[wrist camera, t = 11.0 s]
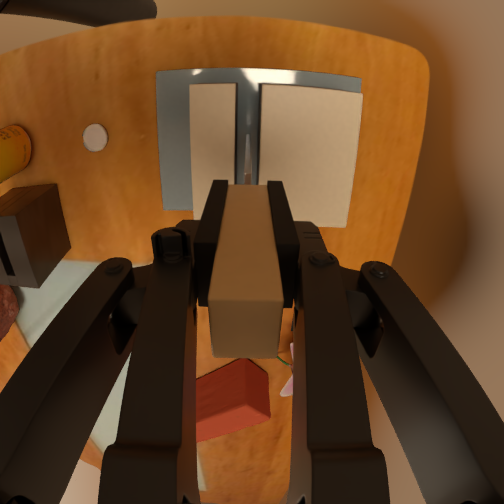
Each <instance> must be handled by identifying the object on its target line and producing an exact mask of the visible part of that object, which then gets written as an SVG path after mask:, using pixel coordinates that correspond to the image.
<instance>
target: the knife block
mask: <svg viewBox="0 0 504 504" xmlns="http://www.w3.org/2000/svg"><path fill="white" fill-rule="evenodd" d="M70 248H71V245H70V241H69V237H68V234H67V230H66V225H65V221H64V217H63V212H62V208H61V203H60V198H59V193H58V188H57V184H47V185H38V186H29V187H20V188H13V189H11V190H10V191H8V192H7V193H5V194H4V195H2V196H1V197H0V284H1V285H10V286H20V287H29V288H40V287H41V285H42V284H43V283H44V281H45V280H46V279H47V277H48V276H49V275H50V273H51V272H52V271H53V270H54V268H55V267H56V266H57V264H58V263H59V262H60V261H61V259H62V258H63V257H64V256H65V254H66V253H67V252H68V251H69V250H70Z"/></svg>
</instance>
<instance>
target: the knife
mask: <svg viewBox="0 0 504 504" xmlns="http://www.w3.org/2000/svg"><path fill="white" fill-rule="evenodd" d="M251 180H252V164H251V134H247V135H246V150H245V167H244V185H237V184H229V185H228V188H227V193H226V199H225V204H224V209H223V215H222V220H221V226H220V232H219V237H218V243H217V249H216V252H215V258H214V264H213V270H212V276H211V282H210V288H209V294H208V311H209V323H210V335H211V346H212V355H213V357H216V358H277V355H278V347H279V339H280V331H281V323H282V314H283V305H284V297H283V289H282V282H281V275H280V268H279V261H278V253H277V249H276V242H275V235H274V228H273V221H272V214H271V207H270V201H269V194H268V187H267V185H251Z"/></svg>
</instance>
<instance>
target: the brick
mask: <svg viewBox="0 0 504 504" xmlns="http://www.w3.org/2000/svg"><path fill="white" fill-rule="evenodd" d="M270 418H271V413H270V401H269V381H268V374H267V373H266V372H264V371H263V370H262V369H260V368H259V367H258V366H256V365H255V364H253V363H252V362H251V361H249V360H248V359H247V358H240V359H238V360H236V361H234V362H233V363H231V364H229V365H226V366H224V367H222V368H220V369H218V370H216V371H214V372H212V373H210V374H208V375H205V376H204V377H202V378H199V379H197V380H196V443H197V442H201V441H205V440H208V439H211V438H216V437H219V436H221V435H225V434H229V433H232V432H235V431H238V430H241V429H243V428H245V427H250V426H253V425H256V424H260V423H262V422H265V421H267V420H269V419H270Z"/></svg>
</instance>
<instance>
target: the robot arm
mask: <svg viewBox="0 0 504 504" xmlns="http://www.w3.org/2000/svg"><path fill="white" fill-rule="evenodd" d="M267 187H268V194H269V201H270V207H271V214H272V221H273V228H274V235H275V242H276V249H277V253H278V261H279V268H280V275H281V282H282V289H283V297H284V305H283V308H292V306H293V298H294V303H295V307H294V314H293V321H292V327H291V331H293V403H292V439H291V465H290V484H289V490H288V496H287V503H286V504H390V497H389V486H388V476H387V467H386V462H385V457H384V454H383V453H382V451H381V450H380V449H378V448H376V447H374V445H373V442H372V437H371V429H370V422H369V415H368V408H367V401H366V395H365V389H364V383H363V377H362V370H361V365H360V359H359V356H360V358H361V360H362V362H363V364H364V366H365V368H366V370H367V372H368V374H369V376H370V378H371V380H372V383H373V385H374V387H375V388H376V391H377V393H378V395H379V397H380V400H381V402H382V404H383V406H384V408H385V410H386V412H387V415H388V417H389V419H390V421H391V423H392V425H393V427H394V430H395V432H396V434H397V437H398V439H399V441H400V443H401V445H402V447H403V450H404V452H405V455H406V457H407V459H408V461H409V464H410V466H411V469H412V471H413V473H414V476H415V478H416V480H417V483H418V485H419V488H420V490H421V493H422V495H423V497H424V499H425V501H426V503H427V504H504V423H503V421H502V419H501V418H500V416H499V414H498V413H497V411H496V409H495V408H494V406H493V405H492V403H491V401H490V400H489V398H488V397H487V395H486V393H485V392H484V390H483V389H482V387H481V385H480V384H479V382H478V381H477V380H476V378H475V376H474V375H473V373H472V372H471V370H470V369H469V367H468V366H467V365H466V363H465V362H464V360H463V359H462V357H461V356H460V355H459V353H458V352H457V350H456V349H455V347H454V346H453V345H452V343H451V342H450V340H449V339H448V338H447V336H446V335H445V334H444V332H443V331H442V330H441V328H440V327H439V325H438V324H437V323H436V321H435V320H434V319H433V317H432V316H431V315H430V314H429V312H428V311H427V310H426V309H425V307H424V306H423V304H422V303H421V302H420V301H419V299H418V298H417V297H416V296H415V294H414V293H413V292H412V291H411V289H410V288H409V287H408V286H407V285H406V283H405V282H404V281H403V279H402V278H401V277H400V276H399V275H398V273H397V272H396V271H395V270H394V269H393V268H392V267H391V266H389V265H387V264H385V263H383V262H379V261H369V262H365V263H364V264H362V266H361V270H360V271H357V270H352V269H348V268H344V267H342V266H340V265H339V261H338V259H337V258H336V257H335V256H334V255H333V254H331V253H328V251H327V249H326V246H325V244H324V241H323V239H322V236H321V234H320V231H319V229H318V227H317V226H316V225H315V224H314V223H312V222H311V221H294V220H293V217H292V213H291V210H290V206H289V203H288V199H287V196H286V192H285V189H284V186H283V182H282V181H271V180H267ZM227 188H228V180H213V182H212V185H211V188H210V191H209V194H208V197H207V200H206V203H205V207H204V210H203V213H202V216H201V219H200V220H182V221H181V222H179V223H178V224H177V225H176V227H169V228H164V229H161V230H158V231H156V232H155V233H153V235H152V236H151V240H152V247H153V254H154V260H153V263H152V264H150V265H146V266H141V267H135V268H132V263H131V261H130V260H128V259H126V258H122V257H119V258H117V257H115V258H110V259H108V260H106V261H103V262H102V263H101V264H99V265H98V266H97V267H96V269H95V270H94V271H93V272H92V273H91V274H90V275H89V277H88V278H87V279H86V280H85V281H84V282H83V284H82V285H81V286H80V287H79V288H78V290H77V291H76V292H75V293H74V294H73V296H72V297H71V298H70V299H69V300H68V302H67V303H66V304H65V305H64V307H63V308H62V309H61V310H60V312H59V313H58V314H57V315H56V317H55V318H54V319H53V320H52V322H51V323H50V324H49V326H48V327H47V328H46V330H45V331H44V332H43V333H42V335H41V336H40V337H39V339H38V340H37V341H36V343H35V344H34V345H33V347H32V348H31V350H30V351H29V352H28V354H27V355H26V357H25V358H24V359H23V361H22V362H21V364H20V365H19V366H18V368H17V369H16V371H15V372H14V374H13V375H12V377H11V378H10V380H9V381H8V383H7V384H6V386H5V387H4V389H3V390H2V392H1V393H0V504H59V503H60V501H61V499H62V497H63V495H64V493H65V490H66V488H67V486H68V483H69V481H70V479H71V476H72V474H73V472H74V469H75V467H76V465H77V462H78V460H79V458H80V456H81V453H82V451H83V449H84V447H85V445H86V442H87V440H88V438H89V436H90V434H91V432H92V429H93V427H94V425H95V423H96V421H97V419H98V417H99V415H100V413H101V411H102V408H103V406H104V404H105V402H106V400H107V398H108V396H109V394H110V392H111V390H112V388H113V386H114V384H115V382H116V380H117V378H118V376H119V374H120V372H121V370H122V368H123V366H124V364H125V362H126V360H127V359H128V357H129V355H130V353H131V356H130V361H129V366H128V371H127V377H126V382H125V388H124V393H123V399H122V405H121V411H120V418H119V424H118V431H117V437H116V441H115V442H114V444H112V445H109V446H108V447H107V448H106V450H105V452H104V456H103V460H102V468H101V476H100V485H99V495H98V504H201V503H200V495H199V489H198V480H197V448H196V347H197V306H196V303H197V298H198V304H199V306H203V307H208V294H209V288H210V282H211V276H212V270H213V264H214V258H215V252H216V249H217V243H218V237H219V232H220V226H221V220H222V215H223V209H224V204H225V199H226V193H227Z"/></svg>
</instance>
